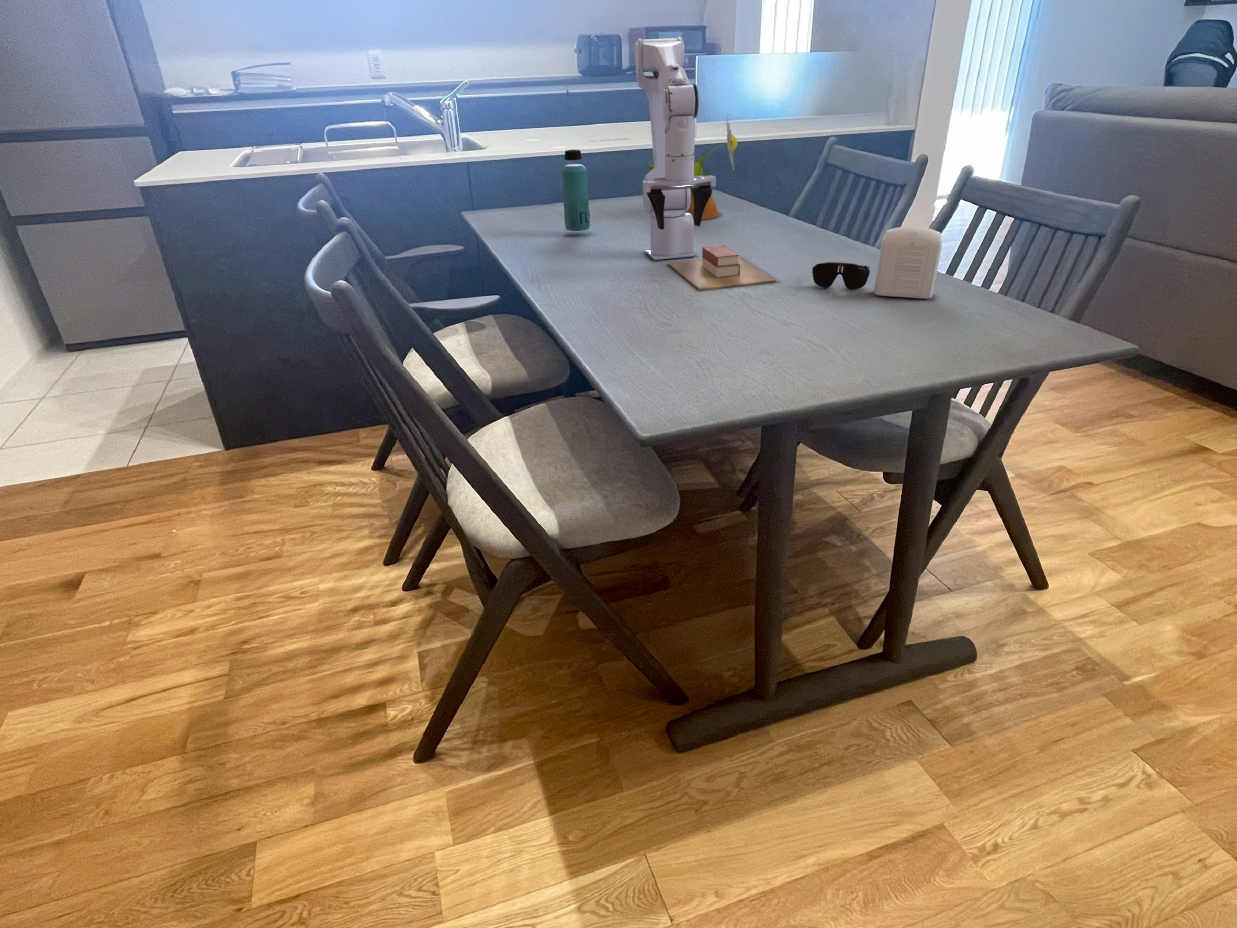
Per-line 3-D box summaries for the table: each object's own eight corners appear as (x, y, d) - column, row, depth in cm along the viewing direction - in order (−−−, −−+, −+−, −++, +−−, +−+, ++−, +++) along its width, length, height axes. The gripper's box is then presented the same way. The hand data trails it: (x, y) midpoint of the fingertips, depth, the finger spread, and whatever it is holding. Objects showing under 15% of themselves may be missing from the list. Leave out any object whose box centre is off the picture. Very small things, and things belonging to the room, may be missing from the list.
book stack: (723, 264, 158) (724, 244, 155) (739, 275, 150) (740, 254, 148) (701, 266, 157) (701, 246, 155) (716, 278, 149) (717, 257, 147)
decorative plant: (739, 223, 193) (744, 118, 181) (647, 226, 194) (645, 121, 181) (727, 203, 216) (731, 109, 204) (645, 206, 217) (644, 112, 205)
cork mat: (737, 257, 164) (737, 256, 163) (775, 282, 147) (775, 280, 146) (668, 264, 160) (668, 262, 160) (699, 290, 144) (699, 288, 143)
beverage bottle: (581, 238, 184) (576, 152, 175) (559, 235, 188) (553, 151, 178) (595, 232, 189) (591, 148, 179) (574, 230, 192) (569, 147, 182)
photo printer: (931, 293, 137) (944, 225, 131) (933, 300, 133) (945, 230, 127) (873, 290, 140) (883, 223, 134) (873, 297, 136) (882, 228, 130)
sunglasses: (809, 287, 142) (812, 261, 140) (816, 279, 152) (819, 253, 150) (866, 291, 139) (870, 264, 137) (869, 282, 149) (873, 256, 147)
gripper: (649, 160, 138) (650, 234, 145) (722, 154, 141) (719, 227, 148) (639, 155, 144) (640, 226, 151) (709, 150, 147) (707, 220, 154)
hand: (678, 227), depth 150 cm, fingers open, 7 cm apart
